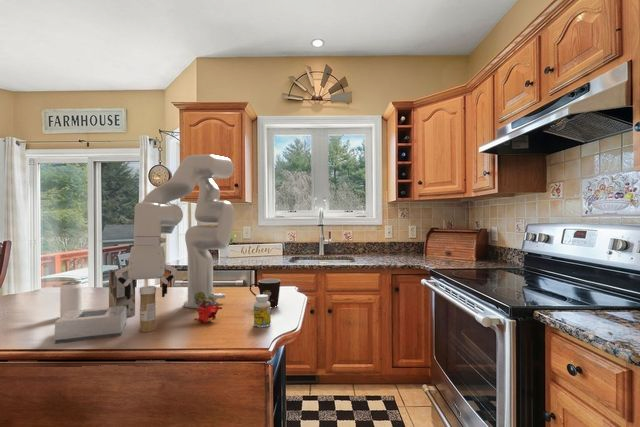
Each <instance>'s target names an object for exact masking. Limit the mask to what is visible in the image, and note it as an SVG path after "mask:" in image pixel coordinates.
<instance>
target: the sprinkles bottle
mask: <svg viewBox="0 0 640 427" xmlns="http://www.w3.org/2000/svg"><path fill="white" fill-rule="evenodd" d="M156 294H157V288H156V286H155V285H144V286H141V287H139V296H140V302H139V304H140V305H139V332H142V333H146V332H152V331H154V330H156V328H157V327H156V313H157V312H156V311H157V310H156V308H157V307H156V305H157V304H156Z"/></svg>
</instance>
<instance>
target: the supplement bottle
mask: <svg viewBox="0 0 640 427" xmlns="http://www.w3.org/2000/svg"><path fill="white" fill-rule="evenodd" d="M267 300H268V295H265V294H261V295H260V294H256V296H255V302H254V304H253V325H254V327H255V326H257V327H256V328H263V327H262V326H267V325H269V326H271V324H270V323H271V321H272V320H271V309H270V302H269V301H267ZM267 327H268V326H267Z"/></svg>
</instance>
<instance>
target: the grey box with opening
mask: <svg viewBox="0 0 640 427" xmlns="http://www.w3.org/2000/svg"><path fill="white" fill-rule="evenodd" d="M126 326H127V317H126V306H119V307H109V306H108V307H100V308H86V309H83V310H74V311H67V312H66V313H65V314H64V315H63V316H61V317H59V318H58V319H56V321H55V322H54V344H64V343H65V344H66V343H72V342H73V343H74V342H83V341H90V340H99V339H107V338H115V337H116V338H117V337H121V336H122V334H123V332H124V330H125V328H126Z"/></svg>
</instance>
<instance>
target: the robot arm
mask: <svg viewBox="0 0 640 427" xmlns="http://www.w3.org/2000/svg"><path fill="white" fill-rule="evenodd" d="M234 170H235V167H234V163H233V161H232V160H231V159H230V158H228V157H225V156H220V155H215V154H192V155H187V156H185V157H184V158H183V159H182V161H181V162H180V164H179V166H178V167H177V169H176V171H175V172H174V173H173V175H172V177H170V178H169V180H166V181H165V182H163V183H162V184H160V185H158V186H157V187H155V188H153V189H151V191H149V192H148V193H147V194H146V195H145V197H144V198H143V200H142V201H141V202H138V203H136V204H135V205H134V218H133V219H134V222H133V224H134V225H133V227H134V228H133V231H134V232H133V246H131V248H130V252H129V256H128V257H129V259H128V265H126V266H124V267H122V268H119V269H120V270H118V271H116V272H115V275H116V277H117V278H118V281H119V282H121V283H122V284H123V285H124V286H125V296H127V300H129V299H130V298H131V285H130V282H131V281H132V280H135V281H137V280H152V279H154V280H157V279H159V280H161V282H162V285H161V297H162V298H165V297H166V294H168V284H169V283H170V282H171V281H172V280H173V279H174V277H175V275H176V273H177V272H178V269H177V268H175V267H173V266H171V265H169V264H167V263H166V256H165V255H166V254H165V248H164V247H165V246H163V245H162V244H164V243H166V242H167V238H165V237H164V238H163V237H162V227H174V226H176V225H178V224H179V223H181V221H182V220H183V216H184V212H183V209H182V208H181V207H180V205H177V204H175V203H170V202H173V201H175V200H179V199H183V198H184V197H187V196H189V195H190V194H192V192H193V191H194V189H195V187H196V186H197V184H198V189H199V190H198V197H197V202H196V206H195V211H194V219H195V221H196V222H198V223H200V224H199V225H193V226H190V227H189V228H187V230H186V231H185V236H184V240H185V244H186V245H185V246H186V252H187V300H185V301H184V302H183V307H185V308H188V309H197V308H198V304H196V302H195V294H196V293H198V292H204V294H205V296H206V298H208V297H209V296H210V297H213V300H214V301H215V303H214V305H213V306H215V305H216V304H218V300H219V299H220V300H221V299H226V294H225V293H221V292H219V293H215V292H214V260H213V255H212V254H211V252H210V251H209V250H214V251H215V250H221V251H222V250H225V249H226V248H228V246H229V245H230V242H231V237H232V232H233V228H234V221H235V207H234V205H233V204H232V203H231V202H230V201H228V200H220V197H221V190H220V188H219V186H218V184H217V183H216V182H215V181H214V180H215V179H220V180H221V179H229V178H231V177H233V174H234ZM201 224H202V225H201ZM203 224H204V225H203ZM205 224H207V225H205ZM213 224H214V225H213ZM127 270H128V277H129V278H128V279H127V280H126V279H124V278H123V277H122V275H121V273H123V272H125V271H127ZM166 270H167V271H170V272H171V273H170V275H168V277H166V276H165V274H166Z"/></svg>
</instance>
